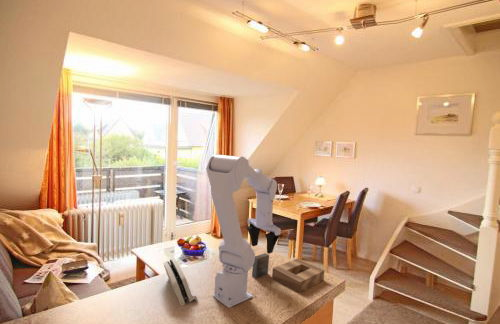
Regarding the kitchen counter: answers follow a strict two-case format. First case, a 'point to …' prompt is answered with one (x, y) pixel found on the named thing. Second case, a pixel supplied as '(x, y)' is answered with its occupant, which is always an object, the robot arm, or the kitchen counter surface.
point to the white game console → (179, 282)
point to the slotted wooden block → (298, 274)
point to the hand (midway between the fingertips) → (262, 249)
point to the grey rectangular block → (260, 265)
